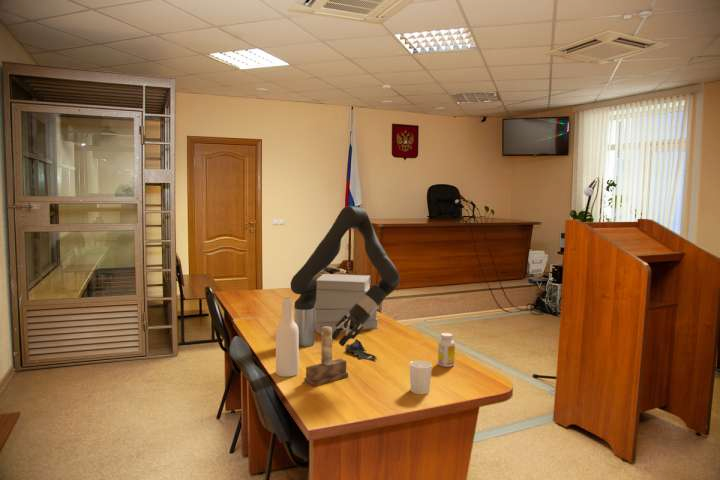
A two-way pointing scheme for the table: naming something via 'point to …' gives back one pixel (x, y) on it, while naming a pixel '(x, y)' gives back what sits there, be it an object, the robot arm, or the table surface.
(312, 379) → the brown block
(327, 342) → the dowel
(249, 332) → the table surface
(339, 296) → the book stack
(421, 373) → the white cup
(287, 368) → the alcohol
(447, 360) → the supplement bottle
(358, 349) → the decorative bat
